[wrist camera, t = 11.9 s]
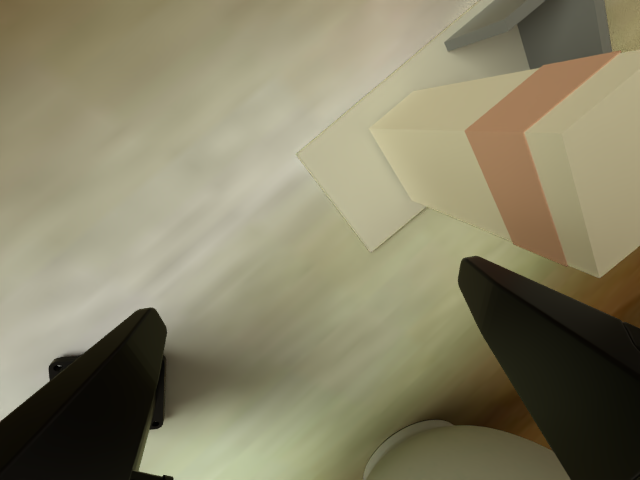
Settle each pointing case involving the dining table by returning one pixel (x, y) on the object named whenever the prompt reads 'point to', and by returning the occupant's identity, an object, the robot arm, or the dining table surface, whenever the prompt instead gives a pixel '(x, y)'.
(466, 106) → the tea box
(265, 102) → the dining table surface
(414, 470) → the decorative bowl
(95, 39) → the dining table surface
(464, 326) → the dining table surface
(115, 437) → the robot arm
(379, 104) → the box holder
